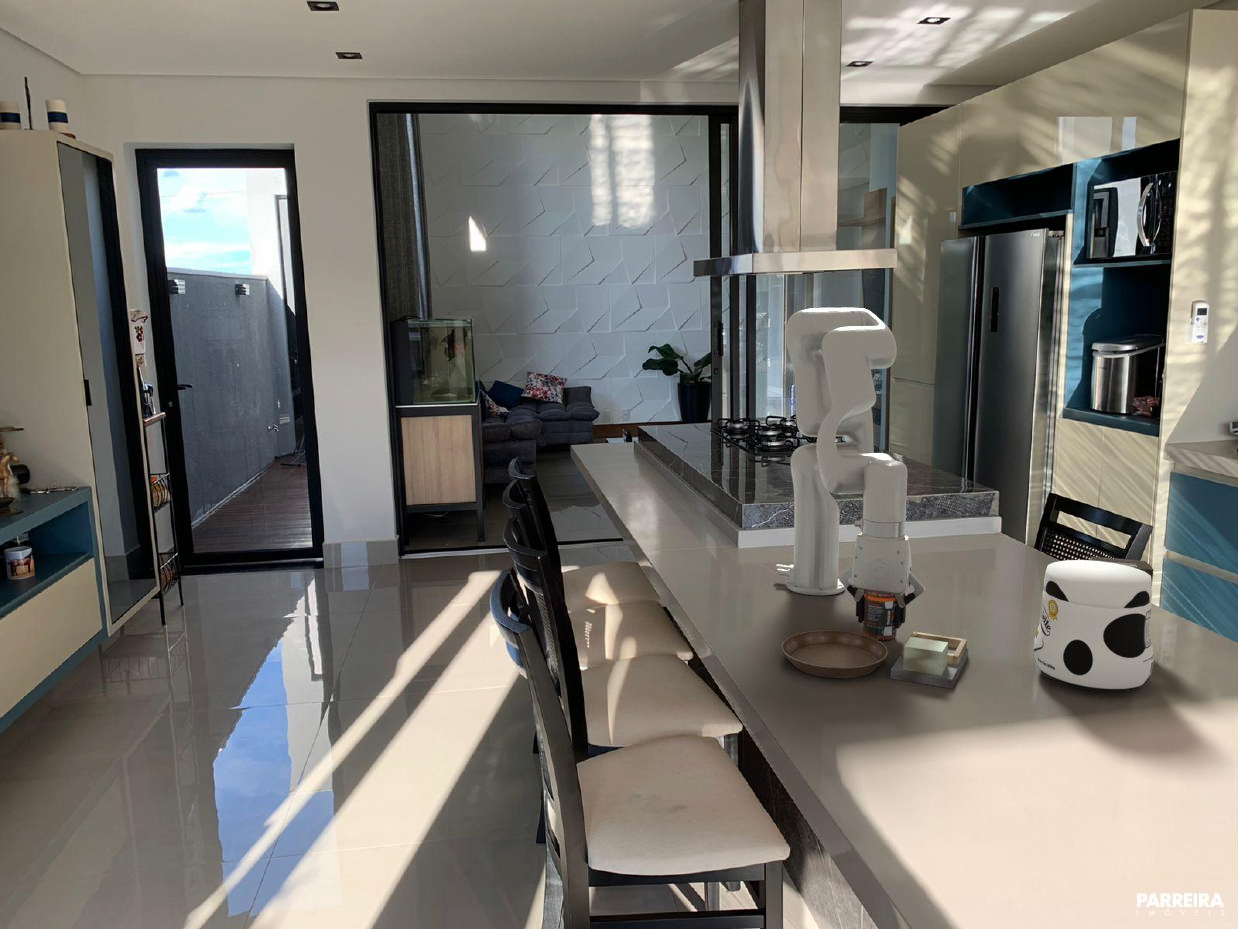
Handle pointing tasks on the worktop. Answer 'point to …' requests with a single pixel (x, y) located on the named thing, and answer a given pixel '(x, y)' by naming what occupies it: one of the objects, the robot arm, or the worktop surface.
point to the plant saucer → (834, 653)
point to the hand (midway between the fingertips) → (880, 622)
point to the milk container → (1095, 626)
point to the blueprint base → (929, 677)
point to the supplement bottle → (879, 615)
